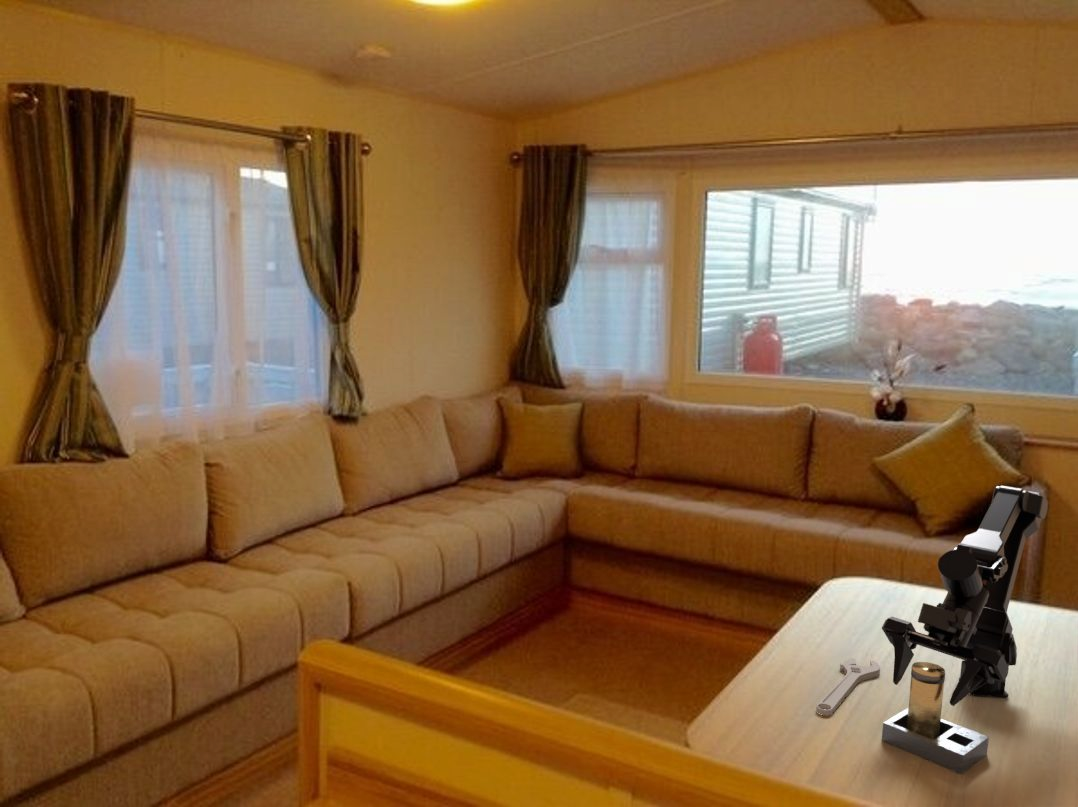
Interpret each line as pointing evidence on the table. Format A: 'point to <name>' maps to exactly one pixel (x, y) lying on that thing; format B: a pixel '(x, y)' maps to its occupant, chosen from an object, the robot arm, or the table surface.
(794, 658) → the table surface
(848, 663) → the adjustable wrench
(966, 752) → the grey rectangular holder
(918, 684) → the gold tin can
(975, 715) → the table surface
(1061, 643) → the table surface
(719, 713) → the table surface
